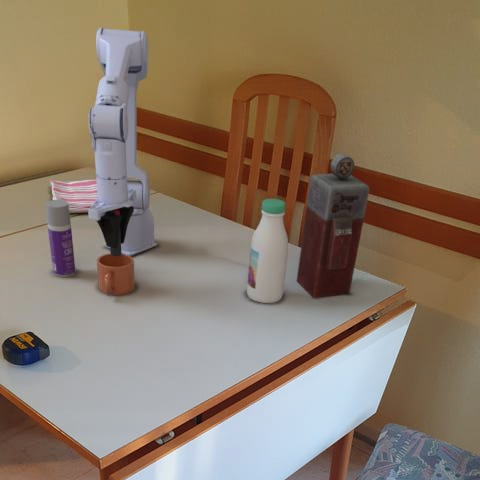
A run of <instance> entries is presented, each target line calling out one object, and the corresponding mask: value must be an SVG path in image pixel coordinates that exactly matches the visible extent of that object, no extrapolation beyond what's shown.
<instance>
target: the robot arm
mask: <svg viewBox="0 0 480 480" xmlns="http://www.w3.org/2000/svg"><path fill="white" fill-rule="evenodd" d="M95 37H96V38H95V47H96V56H97V60H98V62H99V65H100V69H101V71H102V73H103V75H104V76H103V77H102V78H101V79H100V80H99V82H98V85H97V91H96V96H95V102H94V105H93V107H89V111H88V129H89V135H90V138H91V139H90V140H91V148H92V150H93V151H94V164H95V177H96V178H95V180H97V194H98V197H97V199H96V200H95V202H94V204H93V205H92V207H90V208H89V209H88V212H87V213H88V220H92V221H96V223H97V224H98V226H99V228H100V230H101V233H102V235H103V236H102V237H103V239H104V242H105V246H106V248H108V249H110V247H111V248H117V246H118V234H119V226H120V232H121V253H122V254H126V255H129V256H131V257H132V256H134V255H138V254H140V253H141V252H145V251H147V250H149V249H151V248H155V247H157V245H158V244H157V243H156V242H155V219H154V215H153V212H152V210H151V209H150V203H151V187H150V177H149V175H148V173H147V172H146V170H144V169H142V167H140V166H139V165H138V163H137V162H138V161H137V160H138V156H137V155H138V154H137V153H138V151H137V150H138V149H137V148H138V147H137V144H138V143H137V142H138V141H137V140H138V135H137V134H138V133H137V131H138V130H137V127H138V126H137V125H138V124H137V123H138V121H137V120H138V119H137V118H138V117H137V115H138V114H137V106H138V105H137V104H138V103H137V96H138V95H137V93H138V87H139V82H141V81H143V80H145V79H146V78H147V77H148V73H149V40H148V39H149V38H148V34H147V33H146V31H145V30H139V31H137V30H127V29H126V30H125V29H112V28H104V27H99V28H98V29H97V31H96V36H95ZM128 179H130V180H128ZM131 179H135V180H131ZM136 179H137V180H136ZM114 209H119V210H120V215H116V214H115V212H113V210H114Z"/></svg>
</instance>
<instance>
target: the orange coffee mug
mask: <svg viewBox="0 0 480 480" xmlns="http://www.w3.org/2000/svg"><path fill="white" fill-rule="evenodd" d="M96 268H97V281H98V289H99V291H100V292H101V293H103V294H105V295H106V296H107V297H109V296H122V295H123V296H124V295H127V294H129V293H132V292H133V291H134V290H135V288H136V287H135V285H136V280H135V260H134V258H133V257H132V256H129V255H126V254H123V253H122V254H121V255H120V256H112V255H111V252H110V253H105V254H102V255H100V256H98V257H97V259H96Z"/></svg>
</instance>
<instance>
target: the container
mask: <svg viewBox="0 0 480 480" xmlns="http://www.w3.org/2000/svg"><path fill="white" fill-rule="evenodd" d="M45 212H46V213H45V214H46V220H47V221H46V222H47V233H48V242H49V249H50V257H51V266H52V272H53V273H52V274H53V275H54V276H55V277H58V278H69V277H72V276H74V275H75V274H76V262H75V253H74V243H73V233H72V222H71V215H70V214H71V213H69V206H68V202H66V201H63V200H53V199H51V200H47V201H46V202H45Z"/></svg>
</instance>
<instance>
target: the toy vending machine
mask: <svg viewBox="0 0 480 480" xmlns="http://www.w3.org/2000/svg"><path fill="white" fill-rule="evenodd" d="M354 170H355V161H354V159H353V158H352V157H350V156H349V155H347V154H346V153H339V154H337V155H335V157H334V158H333V159H332V160H331V162H330V171H331V173H318V174H317V173H316V174H313V175H311V176H310V180H309V186H308V187H309V188H308V194H307V202H306V208H305V217H304V224H303V231H302V241H301V245H300V246H301V248H300V253H299V254H300V255H299V260H298V262H299V263H298V267H297V268H298V269H297V277H296V283H298V284H299V285H300V286H301V288H302V289H304V291H305V292H307V294H309V296H310V297H311V298H312V299H322V298H329V297H338V296H348V295H350V293H351V288H352V282H353V276H354V271H355V266H356V262H357V256H358V251H359V248H360V247H359V246H360V241H361V235H362V232H363V231H362V230H363V226H364V222H365V221H364V220H365V215H366V209H367V204H368V200H369V194H370V186H369V185H367V184H366V183H365V182H363V181H361V180H360V179H358V178H356V177H355V176H353V175H352V174H353V173H354Z"/></svg>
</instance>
